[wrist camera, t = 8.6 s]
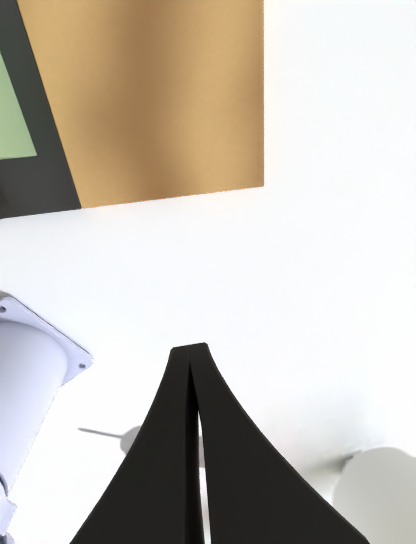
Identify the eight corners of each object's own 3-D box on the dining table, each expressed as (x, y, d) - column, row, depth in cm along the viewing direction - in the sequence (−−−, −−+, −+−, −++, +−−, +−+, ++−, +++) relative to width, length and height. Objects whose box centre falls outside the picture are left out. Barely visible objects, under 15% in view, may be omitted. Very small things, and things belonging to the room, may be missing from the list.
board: (256, -99, 11) (264, -120, 10) (259, 184, 17) (264, 186, 16) (-242, -75, 10) (-283, -96, 9) (-68, 224, 15) (-82, 229, 14)
